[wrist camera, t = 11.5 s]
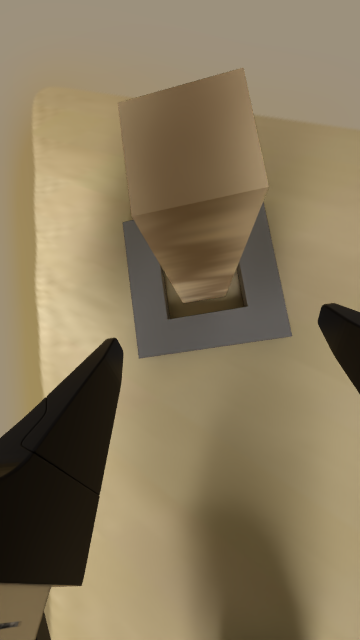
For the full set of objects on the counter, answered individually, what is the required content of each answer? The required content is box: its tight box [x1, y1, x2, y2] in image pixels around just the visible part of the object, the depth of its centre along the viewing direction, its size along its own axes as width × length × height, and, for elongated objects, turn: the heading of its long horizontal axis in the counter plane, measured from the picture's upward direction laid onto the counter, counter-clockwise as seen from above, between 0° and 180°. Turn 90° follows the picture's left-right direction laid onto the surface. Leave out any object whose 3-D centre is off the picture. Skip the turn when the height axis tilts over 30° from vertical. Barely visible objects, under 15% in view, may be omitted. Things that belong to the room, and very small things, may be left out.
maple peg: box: [118, 68, 269, 303], centre depth 13 cm, size 4×4×14 cm
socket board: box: [123, 202, 292, 358], centre depth 19 cm, size 13×13×2 cm
